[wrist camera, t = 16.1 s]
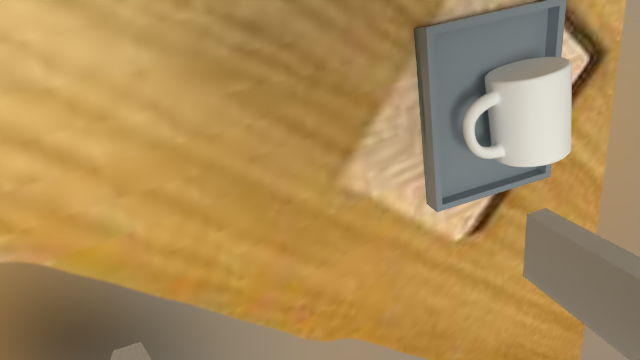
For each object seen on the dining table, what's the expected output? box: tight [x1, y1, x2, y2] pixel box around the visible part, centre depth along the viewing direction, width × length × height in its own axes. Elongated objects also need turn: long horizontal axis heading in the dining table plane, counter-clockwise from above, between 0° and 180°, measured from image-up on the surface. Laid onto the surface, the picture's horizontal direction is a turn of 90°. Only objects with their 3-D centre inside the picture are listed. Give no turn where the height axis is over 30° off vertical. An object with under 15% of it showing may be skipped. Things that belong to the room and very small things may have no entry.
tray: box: [414, 0, 566, 212], centre depth 42 cm, size 22×17×2 cm
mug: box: [463, 57, 572, 167], centre depth 39 cm, size 12×10×8 cm
